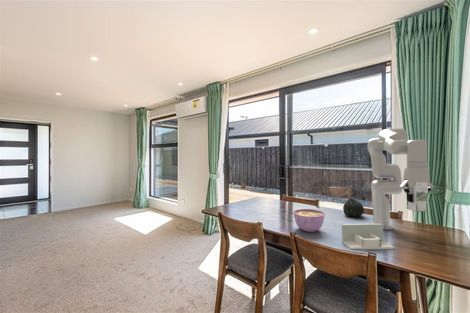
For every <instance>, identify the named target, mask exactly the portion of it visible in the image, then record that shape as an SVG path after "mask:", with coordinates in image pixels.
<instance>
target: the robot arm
mask: <svg viewBox="0 0 470 313" xmlns="http://www.w3.org/2000/svg"><path fill="white" fill-rule="evenodd" d="M408 136H409V134H408V132H407V130H406V129H405V128H385V129H383V130H381V131H380V132H379V134H378V137H375V138H370V139H369V140H368V142H367V151H368V153H369V156H370V160H371V170H372V175H373V177H374V178H377V179H376V180H372V182H371V183H370V187H371V195H372V217H371V220H372V222H370V224H383V230H392V229H393V228H394V226H393V225H392V224H391V214H390V213H391V209H390V208H391V205H390V204H391V203H390V199H389V198H388V197H387V196H386V195H400V194H402V191H404V193H405V194H406V202H407V201H408V202H413V194H412V191H413V189H414V187H415V182H428V194H429V193H430V192H431V191H432V189H433V188H434V187H435V185H434V184H433V183H432V182H431V176H430V175H431V174H430V172H429V168H428V166H429V164H430V163H429V162H428V153H427V152H428V150H427V148H428V144H427V140H425V139H408ZM382 151H386V152H388V153H389V154H390V155H398V156H399V155H406V167H405V168H404V171H403V176H402V171H401V168H400V166H399V165H398V164H396V163H387V157H386V155H385V154H384V153H383V152H382ZM402 177H403V179H402ZM378 178H379V179H378ZM409 189H410V190H409Z"/></svg>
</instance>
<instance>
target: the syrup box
mask: <svg viewBox="0 0 470 313" xmlns="http://www.w3.org/2000/svg"><path fill="white" fill-rule="evenodd" d="M409 190H410V189H409ZM412 194H413V202H408V201H407V200H406V209H407V210H409V211H413V212H415V213H416V212H421V213H423V212H424V213H425V212H428V198H429V197H428V182H415V187H414V189H413V191H412Z"/></svg>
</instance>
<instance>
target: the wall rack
mask: <svg viewBox="0 0 470 313" xmlns="http://www.w3.org/2000/svg"><path fill="white" fill-rule="evenodd" d="M341 241H342V242H343V244H345V246H347V247H348V248H349V249H350V250H395V246H392V244H389V243H388V242H386V241H384V229H383V224H371V223H342V224H341Z"/></svg>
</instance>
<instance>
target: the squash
mask: <svg viewBox="0 0 470 313" xmlns="http://www.w3.org/2000/svg"><path fill="white" fill-rule="evenodd" d="M342 210H343V213H344V215H345V216H347V217H351V218H352V217H353V218H360V217H362V216H363V215H364V212H365V207H364V206H363V204H362V203H361V202H360V201H358V200H356V199H354V198H351V197H349V198H348V199H347V201H345V202H344V204H343V207H342Z"/></svg>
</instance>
